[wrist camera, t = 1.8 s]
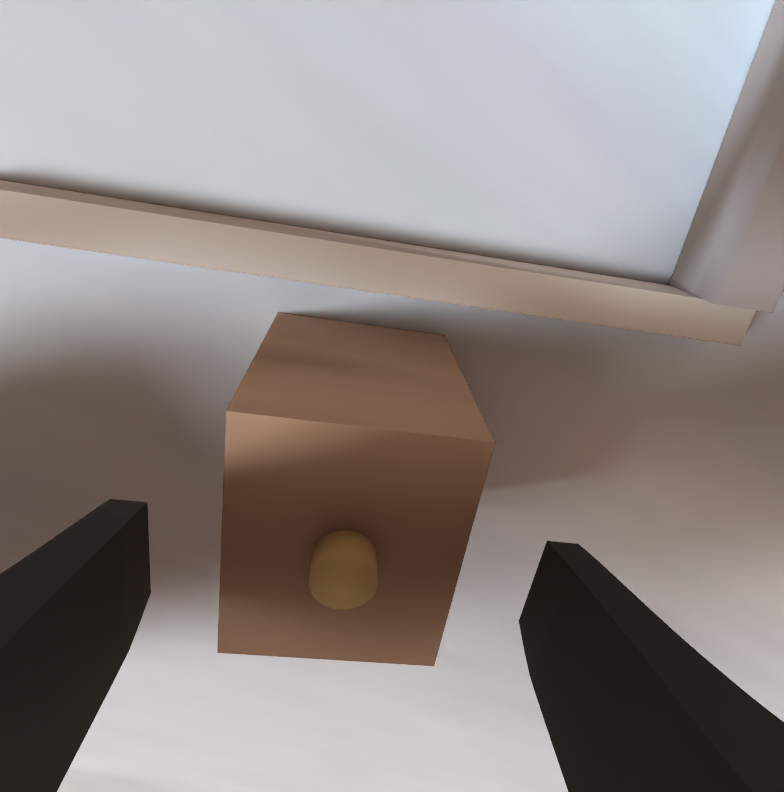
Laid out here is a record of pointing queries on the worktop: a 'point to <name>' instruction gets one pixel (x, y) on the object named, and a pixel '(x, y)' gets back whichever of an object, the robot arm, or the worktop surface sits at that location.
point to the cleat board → (480, 275)
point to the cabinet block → (347, 493)
